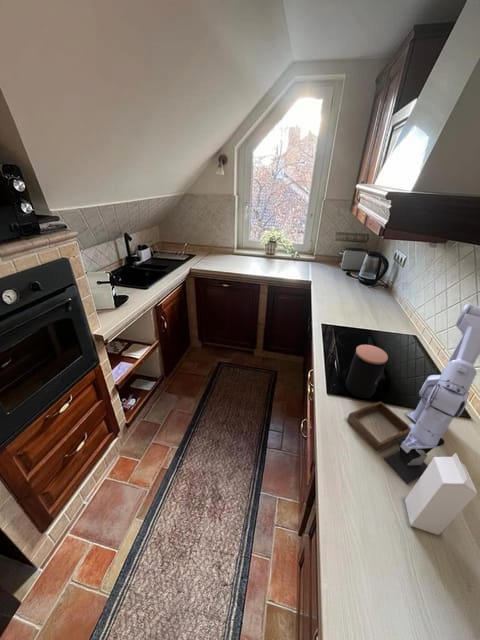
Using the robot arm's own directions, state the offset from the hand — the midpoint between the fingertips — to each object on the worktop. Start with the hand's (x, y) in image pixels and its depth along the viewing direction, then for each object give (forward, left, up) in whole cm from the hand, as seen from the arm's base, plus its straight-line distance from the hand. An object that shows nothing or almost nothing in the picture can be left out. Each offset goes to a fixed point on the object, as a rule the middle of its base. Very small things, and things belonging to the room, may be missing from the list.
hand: (412, 456), depth 72 cm
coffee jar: (-10, -29, -4) cm, 30 cm away
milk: (+9, +10, -4) cm, 14 cm away
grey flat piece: (0, 0, -3) cm, 3 cm away
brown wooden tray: (-2, -13, -4) cm, 13 cm away
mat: (0, 0, -4) cm, 4 cm away
